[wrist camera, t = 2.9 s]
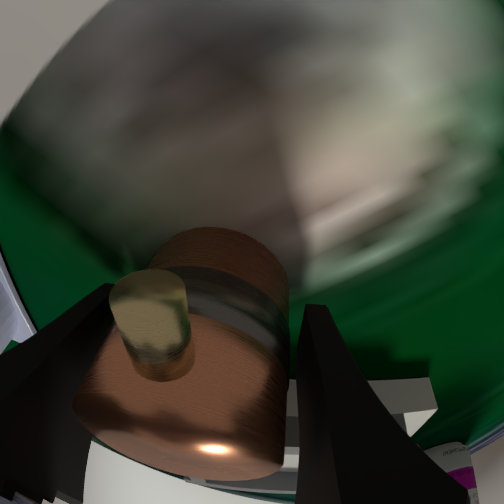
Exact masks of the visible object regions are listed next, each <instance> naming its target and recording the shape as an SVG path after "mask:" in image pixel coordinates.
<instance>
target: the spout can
mask: <svg viewBox="0 0 504 504" xmlns="http://www.w3.org/2000/svg"><path fill="white" fill-rule="evenodd" d="M109 304H110V307H111V310H112V313H113V316H114V320H113V322H112V324H111V325H110V327H109V329H108V331H107V333H106V336H105V340H104V342H103V344H102V345H101V347H100V349H99V351H98V353H97V355H96V357H95V358H94V360H93V362H92V364H91V366H90V368H89V370H88V372H87V374H86V376H85V377H84V379H83V381H82V383H81V385H80V387H79V389H78V391H77V393H76V395H75V397H74V400H73V402H72V408H73V411H74V413H75V415H76V417H77V418H78V420H79V421H80V422H81V423H82V424H83V425H84V426H85V427H86V428H87V429H88V430H89V431H90V432H91V433H92V434H93V435H94V436H96V437H97V438H98V439H100V440H101V441H103V442H104V443H106V444H107V445H109V446H110V447H112V448H113V449H115V450H117V451H119V452H121V453H122V454H124V455H126V456H128V457H130V458H133V459H135V460H137V461H139V462H142V463H144V464H147V465H149V466H152V467H155V468H158V469H161V470H164V471H167V472H171V473H175V474H179V475H183V476H188V477H194V478H199V479H207V480H219V481H242V480H251V479H257V478H262V477H265V476H268V475H271V474H273V473H275V472H277V471H278V470H279V469H281V467H282V466H283V464H284V454H285V434H286V411H287V392H288V389H289V381H290V331H289V286H288V280H287V277H286V274H285V272H284V269H283V267H282V266H281V264H280V263H279V261H278V260H277V258H276V257H275V256H274V255H273V254H272V253H271V252H270V251H269V250H268V249H267V248H266V247H265V246H264V245H262V244H261V243H259V242H258V241H256V240H255V239H253V238H251V237H249V236H247V235H244V234H242V233H239V232H236V231H233V230H229V229H224V228H216V227H203V228H195V229H191V230H187V231H184V232H182V233H179V234H177V235H175V236H174V237H172V238H170V239H169V240H168V241H167V242H165V243H164V244H163V245H162V247H161V248H160V249H159V250H158V252H157V253H156V255H155V257H154V258H153V260H152V261H151V263H150V264H149V266H148V268H147V269H146V270H141V271H137V272H134V273H131V274H129V275H127V276H125V277H123V278H122V279H120V280H119V281H118V282H117V283H116V284H115V285H114V286H113V288H112V289H111V291H110V294H109Z"/></svg>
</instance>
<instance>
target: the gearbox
mask: <svg viewBox="0 0 504 504" xmlns="http://www.w3.org/2000/svg"><path fill="white" fill-rule="evenodd" d="M368 383H369V384H370V386H371V387H372V389H373V390H374V392H375V393H376V395H377V396H378V398H379V399H380V400H381V402H382V403H383V404H384V406H385V407H386V408H387V410H388V411H389V412H390V414H391V415H392V416H393V417H394V419H395V420H396V421H397V422H398V424H399V425H400V426H401V427H402V428H403V430H404V431H405V432H406V433H407V434H408V435H409V436H410V437H411V436H412V435H413V434H414V433H415V432H416V431H417V430H418V429H419V428H420V427H421V426H422V425H423V424H424V423H425V422H426V421H427V420H428V419H429V418H430V417H431V416H432V415H433V414H434V413H435V411H436V410H437V409H438V407H437V403H436V400H435V396H434V393H433V389H432V386H431V383H430V379H429V377H426V378H414V379H398V380H375V381H368ZM416 444H417V443H416ZM417 445H418V444H417ZM418 446H419V445H418ZM419 447H420V446H419ZM298 463H299V420H298V404H297V388H296V380H293V379H290V381H289V389H288V392H287V411H286V434H285V454H284V464H283V466H282V467H281V469H279V470H278V471H277V472H275V473H273V474H271V475H268V476H265V477H262V478H257V479H251V480H242V481H219V480H207V479H199V478H194V477H188V476H184V480H185V481H186V482H188V483H193V484H198V485H204V486H210V487H217V488H224V489H232V490H240V491H251V492H264V493H285V494H296V488H297V477H298Z"/></svg>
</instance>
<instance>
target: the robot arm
mask: <svg viewBox="0 0 504 504" xmlns="http://www.w3.org/2000/svg"><path fill="white" fill-rule="evenodd" d="M114 285H115V284H110V283H105V284H103V285H102V286H100V287H99V288H97V289H96V290H94V291H93V292H91V293H90V294H89V295H87V296H86V297H85V298H83V299H82V300H81V301H79V302H78V303H77V304H75V305H74V306H73V307H71V308H70V309H69V310H67V311H66V312H65V313H63V314H62V315H61V316H59V317H58V318H57V319H55V320H54V321H52V322H51V323H49V324H48V325H47V326H45V327H44V328H42V329H41V330H40V331H38V332H37V331H36V329H35V328H34V326H33V324H32V322H31V320H30V318H29V316H28V314H27V312H26V310H25V308H24V306H23V304H22V302H21V300H20V298H19V296H18V294H17V291H16V289H15V287H14V285H13V282H12V280H11V278H10V276H9V273H8V271H7V268H6V266H5V263H4V261H3V258H2V255H1V253H0V504H42V501H43V499H45V500H47V501H48V502H50V503H53V502H54V499H55V497H57V498H59V499H61V500H63V501H65V502H67V503H69V504H83V493H84V492H83V491H84V480H85V471H86V465H87V459H88V453H89V449H90V444H91V440H92V436H93V434H92V433H91V432H90V431H89V430H88V429H87V428H86V427H85V426H84V425H83V424H82V423H81V422H80V421H79V420H78V418H77V417H76V415H75V413H74V411H73V408H72V402H73V400H74V397H75V395H76V393H77V391H78V389H79V387H80V385H81V383H82V381H83V379H84V377H85V376H86V374H87V372H88V370H89V368H90V366H91V364H92V362H93V360H94V358H95V357H96V355H97V353H98V351H99V349H100V347H101V345H102V344H103V342H104V340H105V336H106V333H107V331H108V329H109V327H110V325H111V324H112V322H113V320H114V316H113V313H112V310H111V307H110V304H109V294H110V291H111V289H112V288H113V286H114ZM11 339H12V340H15V341H17V342H20V344H18V345H17V346H15V347H13V348H12V349H10V350H8V351H6V352H4V353H2V352H3V350H4V349H5V348H6V346H7V345H8V343H9V342H10V341H11ZM1 353H2V354H1ZM296 388H297V404H298V420H299V463H298V477H297V488H296V498H295V504H471V503H470V498H469V493H468V489H466V488H465V487H464V486H463V485H461V484H460V483H459V482H458V481H456V480H455V479H454V478H452V477H451V476H450V475H449V474H448V473H446V472H445V471H444V470H443V469H442V468H441V467H439V466H438V465H437V464H436V463H435V462H434V461H433V460H432V459H431V458H430V457H429V456H428V455H427V454H426V453H425V452H424V451H423V450H422V449H421V448H420V447H419V446H418V445H417V444H416V443H415V442H414V440H413V439H412V438H411V437H410V436H409V435H408V434H407V433H406V432H405V431H404V430H403V428H402V427H401V426H400V425H399V424H398V422H397V421H396V420H395V419H394V417H393V416H392V415H391V414H390V412H389V411H388V410H387V408H386V407H385V406H384V404H383V403H382V402H381V400H380V399H379V398H378V396H377V395H376V393H375V392H374V390H373V389H372V387H371V386H370V384H369V383H368V381H367V380H366V378H365V377H364V375H363V373H362V372H361V370H360V368H359V367H358V365H357V363H356V362H355V360H354V358H353V356H352V355H351V353H350V351H349V349H348V348H347V346H346V344H345V342H344V340H343V338H342V336H341V334H340V332H339V330H338V328H337V326H336V324H335V322H334V320H333V318H332V316H331V314H330V311H329V309H328V307H327V306H326V305H316V304H306V305H305V310H304V315H303V320H302V325H301V330H300V335H299V340H298V345H297V357H296Z"/></svg>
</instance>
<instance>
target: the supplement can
mask: <svg viewBox="0 0 504 504" xmlns="http://www.w3.org/2000/svg"><path fill="white" fill-rule="evenodd" d="M424 452H425V453H426V454H427V455H428V456H429V457H430V458H431V459H432V460H433V461H434V462H435V463H436V464H437V465H438V466H439V467H441V468H442V469H443V470H444V471H445V472H446V473H448V474H449V475H450V476H451V477H452V478H454V479H455V480H456V481H458V482H459V483H460V484H461V485H463V486H464V487H465V488H466V489H468V493H469V498H470V503H471V504H479V499H478V492H477V487H476V481H475V475H474V470H473V465H472V461H471V456H470V452H469V448H468V446H467V445H462V443H461V442H451V443H446V444H442V445H439V446H435V447H432V448H430V449H427V450H424Z"/></svg>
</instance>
